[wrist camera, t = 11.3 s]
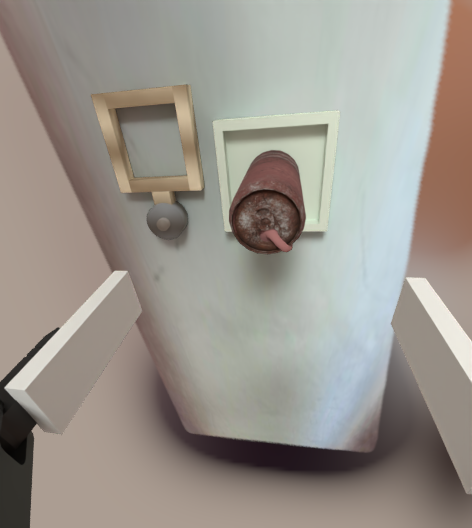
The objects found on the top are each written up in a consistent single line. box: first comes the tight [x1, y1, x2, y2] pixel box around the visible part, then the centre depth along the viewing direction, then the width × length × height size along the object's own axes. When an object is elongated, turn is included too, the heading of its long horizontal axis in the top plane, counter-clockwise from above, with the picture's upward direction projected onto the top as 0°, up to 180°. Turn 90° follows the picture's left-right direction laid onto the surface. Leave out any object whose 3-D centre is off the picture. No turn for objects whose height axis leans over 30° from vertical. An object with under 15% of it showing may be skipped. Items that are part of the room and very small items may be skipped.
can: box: [229, 150, 306, 254], centre depth 26 cm, size 6×6×14 cm
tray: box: [212, 110, 340, 232], centre depth 32 cm, size 13×13×2 cm
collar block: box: [91, 85, 205, 240], centre depth 33 cm, size 18×11×3 cm, turn 5°
